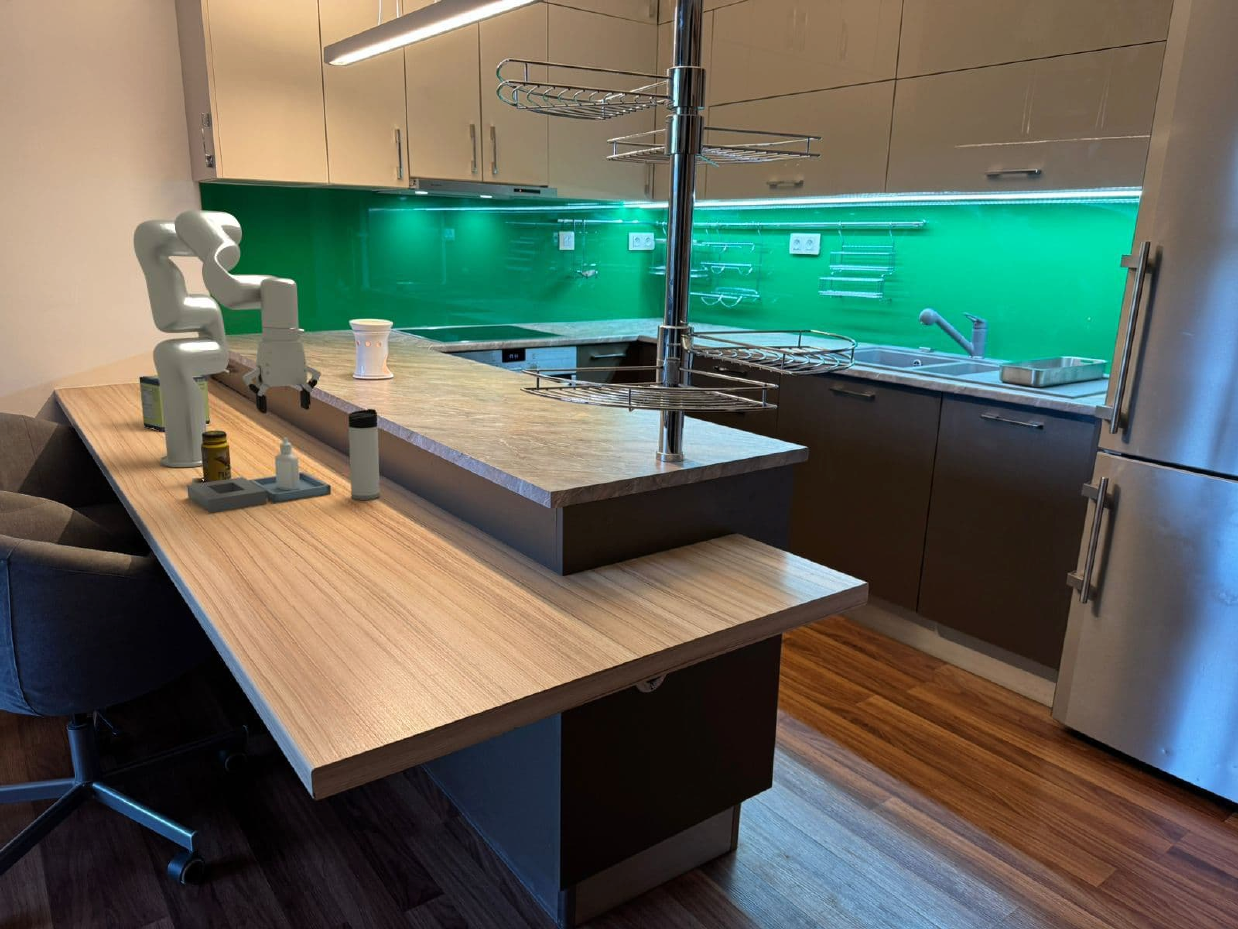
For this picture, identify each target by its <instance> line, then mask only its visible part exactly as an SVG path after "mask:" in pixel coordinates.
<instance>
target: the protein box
mask: <svg viewBox="0 0 1238 929" xmlns="http://www.w3.org/2000/svg"><path fill="white" fill-rule="evenodd" d="M207 376H208V375H206V374H205V375H197V376H193V379H194V381H195V382H196V383H197V384H198V385H199V387H200V388H201V390H202V392H203V396H204V406H205V419H206V424H209V423H210V424H211V418H210V417H211V416H210V405H209V404H210V402H209V391H208V378H207ZM139 388H140V400H141V409H142V420H143V427H144V426H145V427H148V428H147V429H149V428H154V429H156V430H155V431H157V430H159V431H158V432H161V431H165V428H164V417H163V407H162V397H161V388H160V382H159V378H158V374H156V375H155V374H153V375H146V376H144V375H143V376H139ZM145 427H144V428H145Z"/></svg>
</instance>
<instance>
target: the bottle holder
mask: <svg viewBox="0 0 1238 929" xmlns="http://www.w3.org/2000/svg"><path fill="white" fill-rule="evenodd" d="M186 487H187V488H186V489H187V499H189V500H190V501H191V500H192V501H191V502H193V503H194V504H196V505H197V506H198V507H200V508H202V509H203V510H204V511H205V512H207V513H208V514H215V513H222V512H226V511H233V510H238V509H244V507H245V508H250V507H257V506H263V505H267V504H268V503H267V502H268V499H267V498H266V491H265V490H264V489H262V488H260V487H259V486H257V485H255V484H253V483H252V482H250V481H249V479H247V478H245V477H243V476H241V477H235V478H232V479H226V480H219V481H212V482H205V483H198V484H194V483H193V484H187V485H186Z"/></svg>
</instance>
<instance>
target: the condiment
mask: <svg viewBox="0 0 1238 929" xmlns="http://www.w3.org/2000/svg"><path fill="white" fill-rule="evenodd" d="M227 435H228V434H227V432H226V431H225V430H224V431H223V430H216V429H215V430H208V431H207V430H206V432H204V433H202V438H203V439H202V442H203V443H202V445H201V453H202V465H201V466H202V473H203V474H202V475H203V477H194V478H191V480H192V482H193V484H194V483H195V484H198V483H205V482H212V481H219V480H226V479H233V478H232V467H231V456H230V444H229V442H228V438H227ZM202 479H204V481H203V480H202Z"/></svg>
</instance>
